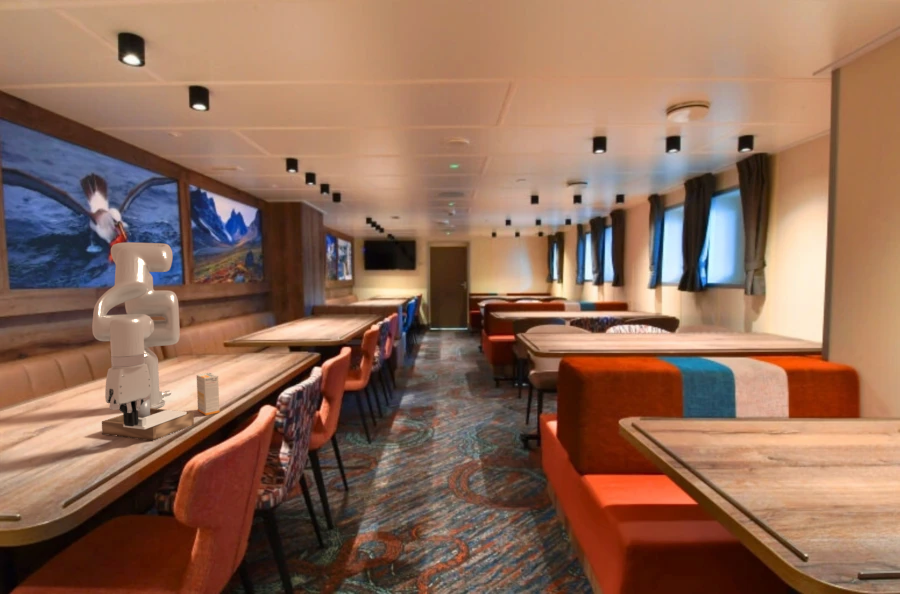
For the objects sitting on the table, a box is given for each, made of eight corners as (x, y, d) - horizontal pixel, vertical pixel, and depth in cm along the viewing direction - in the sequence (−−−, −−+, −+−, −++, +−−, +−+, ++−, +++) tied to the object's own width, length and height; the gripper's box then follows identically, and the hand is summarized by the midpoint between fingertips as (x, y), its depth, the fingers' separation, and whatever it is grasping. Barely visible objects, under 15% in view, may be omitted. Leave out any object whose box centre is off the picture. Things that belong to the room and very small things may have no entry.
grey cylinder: (139, 421, 140) (138, 397, 140) (157, 423, 138) (156, 398, 138) (122, 427, 135) (121, 402, 134) (140, 429, 133) (139, 404, 132)
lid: (166, 411, 139) (166, 403, 139) (186, 414, 137) (186, 405, 136) (123, 426, 125) (122, 417, 125) (144, 429, 123) (144, 420, 123)
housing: (145, 419, 145) (145, 407, 144) (193, 424, 139) (193, 412, 139) (102, 434, 131) (101, 421, 131) (153, 440, 126) (153, 427, 126)
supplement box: (220, 412, 151) (219, 375, 151) (205, 415, 148) (204, 378, 147) (212, 407, 157) (210, 372, 156) (197, 410, 153) (195, 374, 153)
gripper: (143, 355, 130) (146, 415, 131) (90, 365, 115) (93, 433, 116) (163, 356, 128) (165, 417, 129) (111, 367, 113) (114, 436, 114)
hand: (131, 425), depth 122 cm, fingers closed
